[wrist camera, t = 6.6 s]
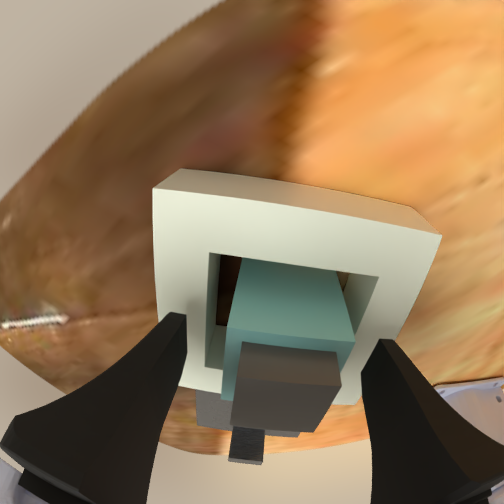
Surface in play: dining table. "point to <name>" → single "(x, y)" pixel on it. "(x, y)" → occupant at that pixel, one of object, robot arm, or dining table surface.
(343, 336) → the plug
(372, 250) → the port
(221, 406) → the grey socket plate
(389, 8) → the dining table surface
